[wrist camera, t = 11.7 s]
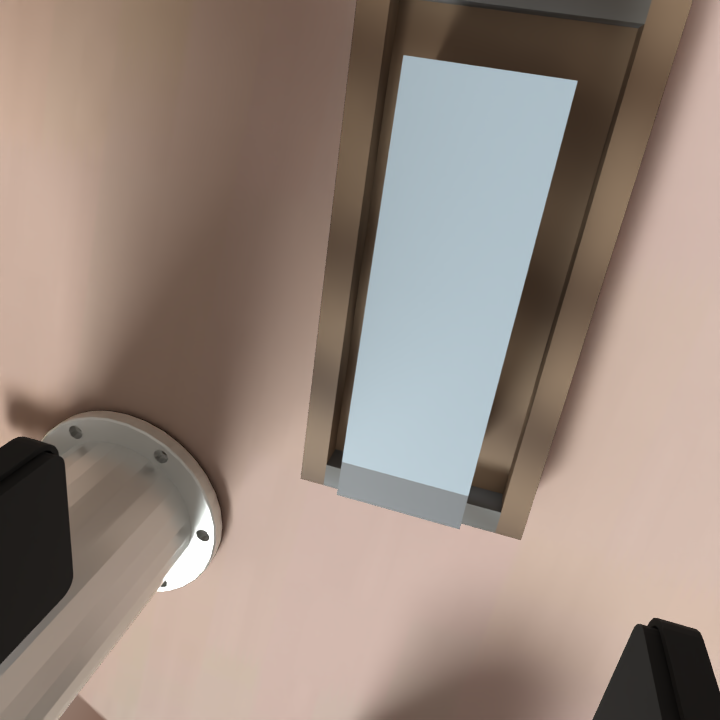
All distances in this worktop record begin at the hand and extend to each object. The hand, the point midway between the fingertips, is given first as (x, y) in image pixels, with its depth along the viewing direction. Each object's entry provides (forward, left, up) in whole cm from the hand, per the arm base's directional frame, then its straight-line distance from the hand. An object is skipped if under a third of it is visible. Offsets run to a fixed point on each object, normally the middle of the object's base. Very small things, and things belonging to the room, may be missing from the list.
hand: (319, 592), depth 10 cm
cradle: (0, 0, -20) cm, 20 cm away
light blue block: (0, 0, -19) cm, 19 cm away
